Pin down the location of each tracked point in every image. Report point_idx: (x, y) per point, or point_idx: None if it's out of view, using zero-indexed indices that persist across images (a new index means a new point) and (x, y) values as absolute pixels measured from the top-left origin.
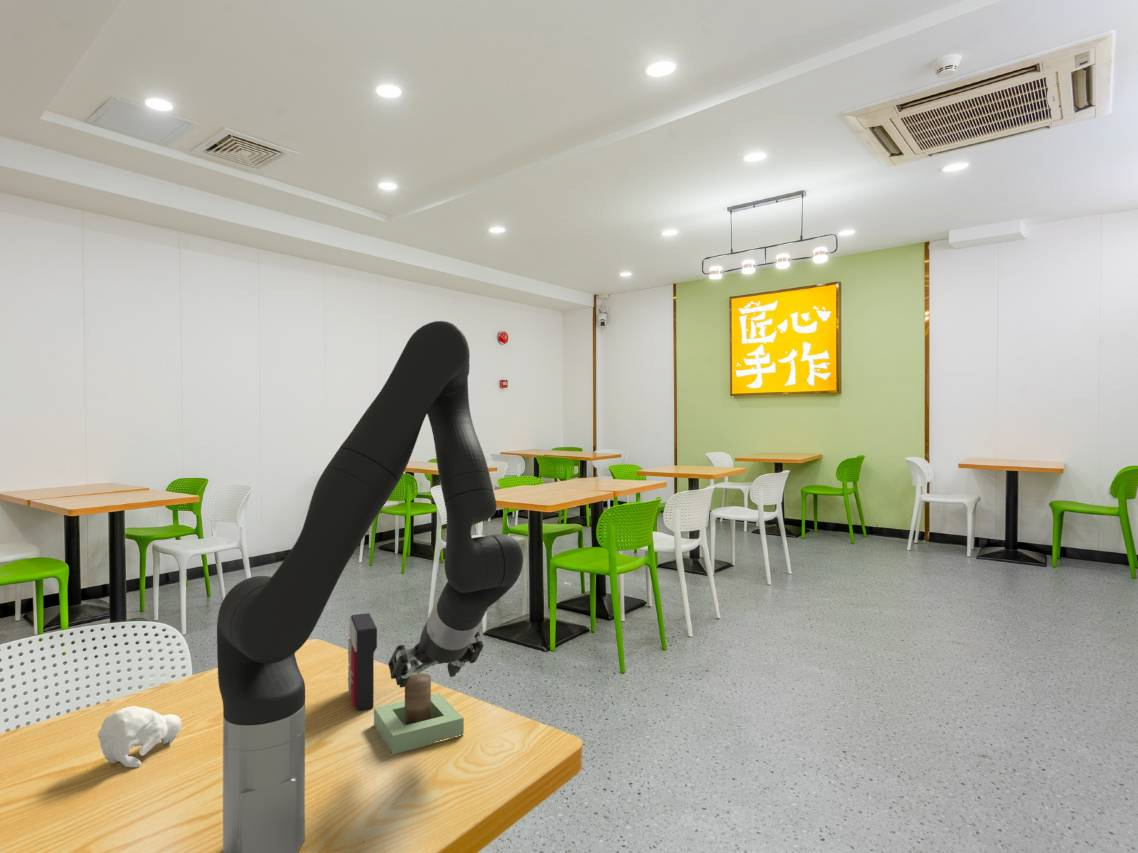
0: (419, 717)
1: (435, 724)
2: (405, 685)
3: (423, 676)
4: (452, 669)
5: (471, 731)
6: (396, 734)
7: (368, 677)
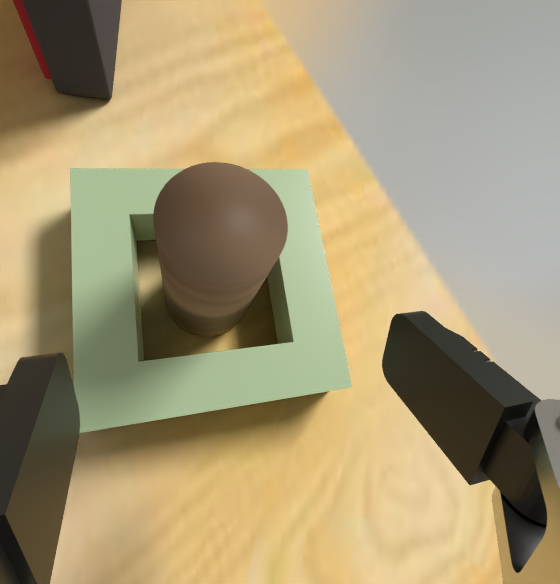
0: (207, 323)
1: (251, 400)
2: (76, 448)
3: (254, 211)
4: (425, 405)
5: (355, 372)
6: (90, 427)
7: (66, 1)
